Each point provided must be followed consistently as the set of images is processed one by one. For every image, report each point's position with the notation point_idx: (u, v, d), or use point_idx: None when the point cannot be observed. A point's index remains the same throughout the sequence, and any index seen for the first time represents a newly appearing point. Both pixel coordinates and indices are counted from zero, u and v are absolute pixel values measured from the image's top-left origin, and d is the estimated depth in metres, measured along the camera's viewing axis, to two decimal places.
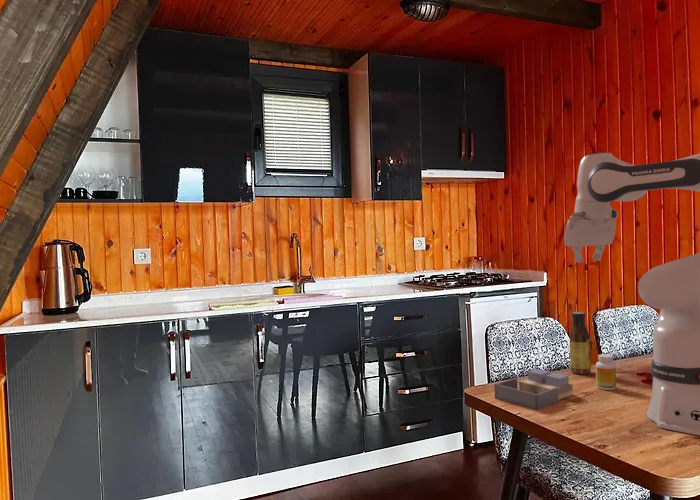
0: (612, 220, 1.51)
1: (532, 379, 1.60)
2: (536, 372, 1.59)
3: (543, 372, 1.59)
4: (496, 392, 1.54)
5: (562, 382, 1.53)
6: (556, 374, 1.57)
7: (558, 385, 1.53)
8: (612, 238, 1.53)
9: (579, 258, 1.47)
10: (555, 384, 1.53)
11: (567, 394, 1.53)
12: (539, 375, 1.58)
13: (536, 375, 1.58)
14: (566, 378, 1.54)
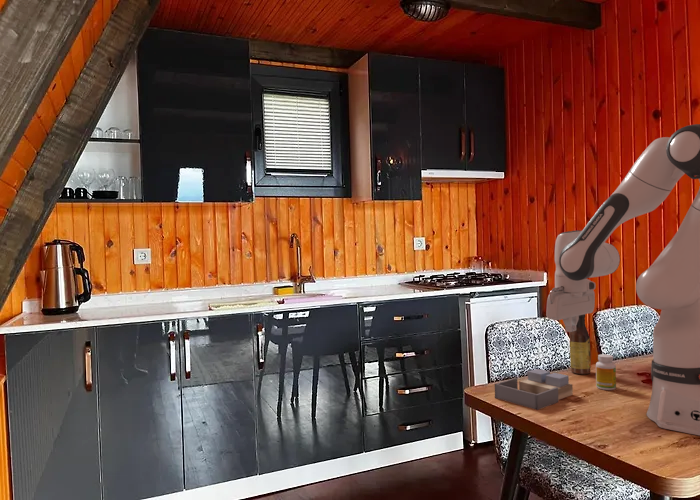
0: (590, 291, 1.61)
1: (532, 379, 1.60)
2: (536, 372, 1.59)
3: (543, 372, 1.59)
4: (496, 392, 1.54)
5: (562, 382, 1.53)
6: (556, 374, 1.57)
7: (558, 385, 1.53)
8: (592, 307, 1.63)
9: (569, 327, 1.59)
10: (555, 384, 1.53)
11: (567, 394, 1.53)
12: (539, 375, 1.58)
13: (536, 375, 1.58)
14: (566, 378, 1.54)
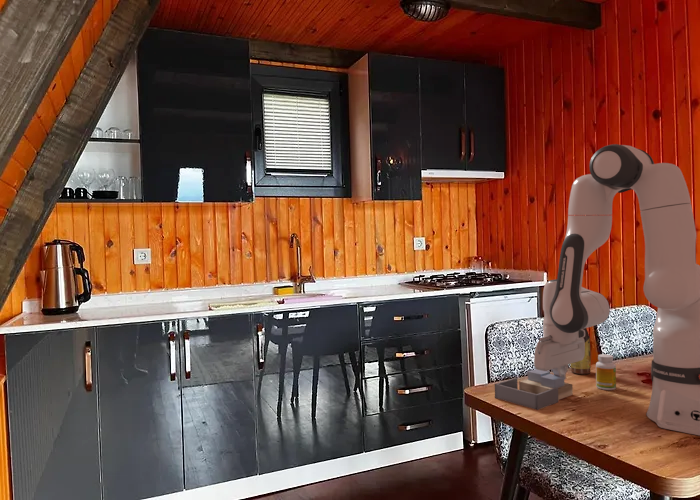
0: (580, 339, 1.58)
1: (532, 379, 1.60)
2: (536, 372, 1.59)
3: (543, 372, 1.59)
4: (496, 392, 1.54)
5: (558, 383, 1.52)
6: (552, 375, 1.55)
7: (553, 386, 1.52)
8: (583, 355, 1.60)
9: None
10: (550, 385, 1.52)
11: (567, 394, 1.53)
12: (539, 375, 1.58)
13: (536, 375, 1.58)
14: (562, 379, 1.53)
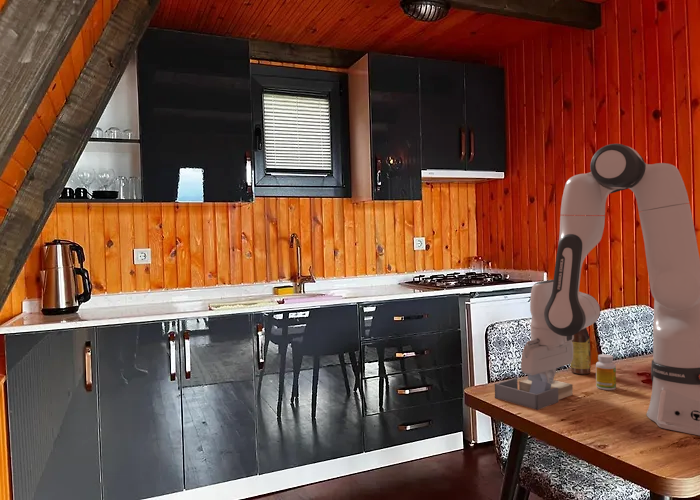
0: (568, 342, 1.54)
1: None
2: None
3: None
4: (496, 392, 1.54)
5: None
6: (536, 384, 1.51)
7: None
8: (571, 358, 1.56)
9: (546, 381, 1.52)
10: None
11: (567, 394, 1.53)
12: (539, 375, 1.58)
13: (536, 375, 1.58)
14: (546, 386, 1.49)
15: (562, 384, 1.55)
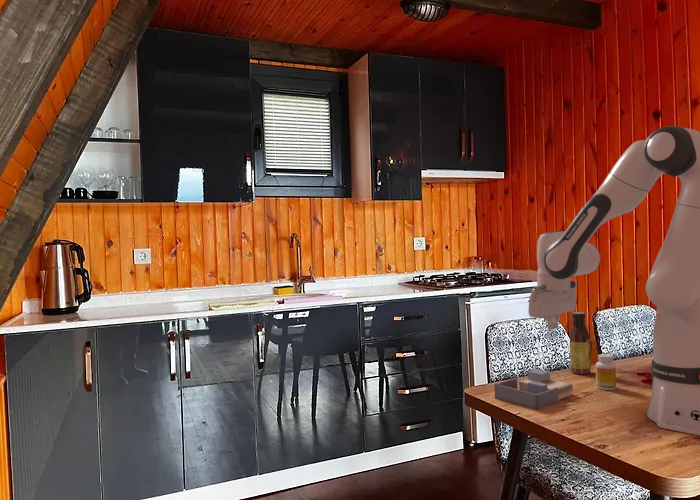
0: (572, 290, 1.66)
1: (532, 379, 1.60)
2: (536, 372, 1.59)
3: (543, 372, 1.59)
4: (496, 392, 1.54)
5: None
6: (532, 388, 1.50)
7: None
8: (574, 305, 1.68)
9: (551, 325, 1.63)
10: None
11: (567, 394, 1.53)
12: (539, 375, 1.58)
13: (536, 375, 1.58)
14: (543, 389, 1.48)
15: (562, 384, 1.55)
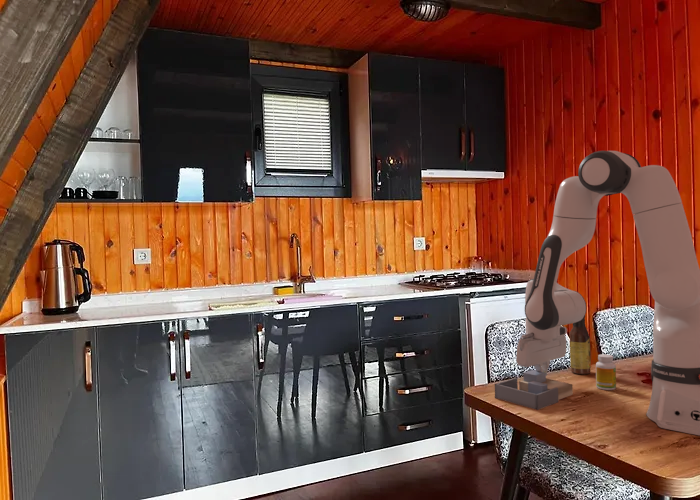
0: (561, 336, 1.63)
1: (528, 380, 1.58)
2: (532, 373, 1.58)
3: (539, 373, 1.58)
4: (496, 392, 1.54)
5: None
6: (532, 388, 1.50)
7: None
8: (564, 352, 1.65)
9: None
10: None
11: (567, 394, 1.53)
12: (535, 376, 1.56)
13: (532, 376, 1.57)
14: (543, 389, 1.48)
15: (562, 384, 1.55)
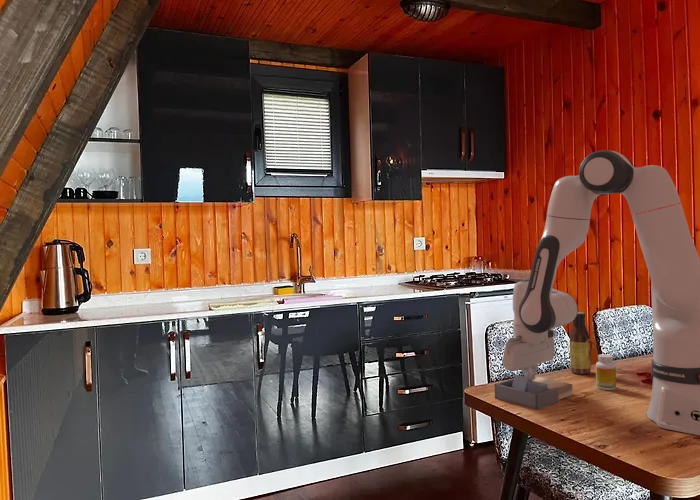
0: (549, 339, 1.59)
1: None
2: (518, 387, 1.55)
3: (523, 384, 1.54)
4: (496, 392, 1.54)
5: None
6: (532, 388, 1.50)
7: None
8: (552, 355, 1.61)
9: (527, 377, 1.57)
10: None
11: (567, 394, 1.53)
12: None
13: None
14: (543, 389, 1.48)
15: (562, 384, 1.55)
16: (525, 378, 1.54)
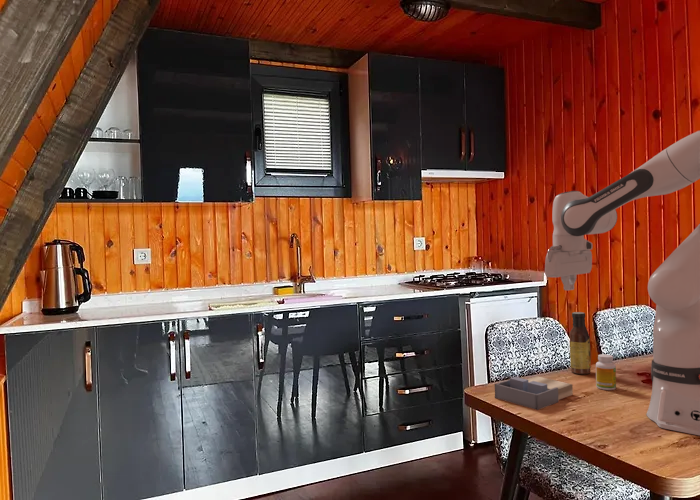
0: (588, 251, 1.65)
1: None
2: None
3: (520, 388, 1.53)
4: (496, 392, 1.54)
5: None
6: (532, 388, 1.50)
7: None
8: (590, 267, 1.68)
9: (567, 286, 1.63)
10: None
11: (567, 394, 1.53)
12: None
13: None
14: (543, 389, 1.48)
15: (562, 384, 1.55)
16: (520, 382, 1.53)
